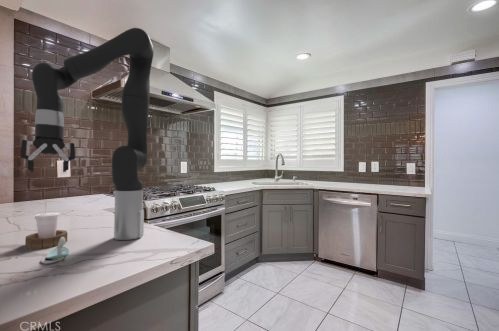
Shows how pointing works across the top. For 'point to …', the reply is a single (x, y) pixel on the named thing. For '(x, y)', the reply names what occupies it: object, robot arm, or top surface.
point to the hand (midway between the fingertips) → (48, 171)
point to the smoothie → (47, 223)
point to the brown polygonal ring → (44, 240)
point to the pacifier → (57, 253)
